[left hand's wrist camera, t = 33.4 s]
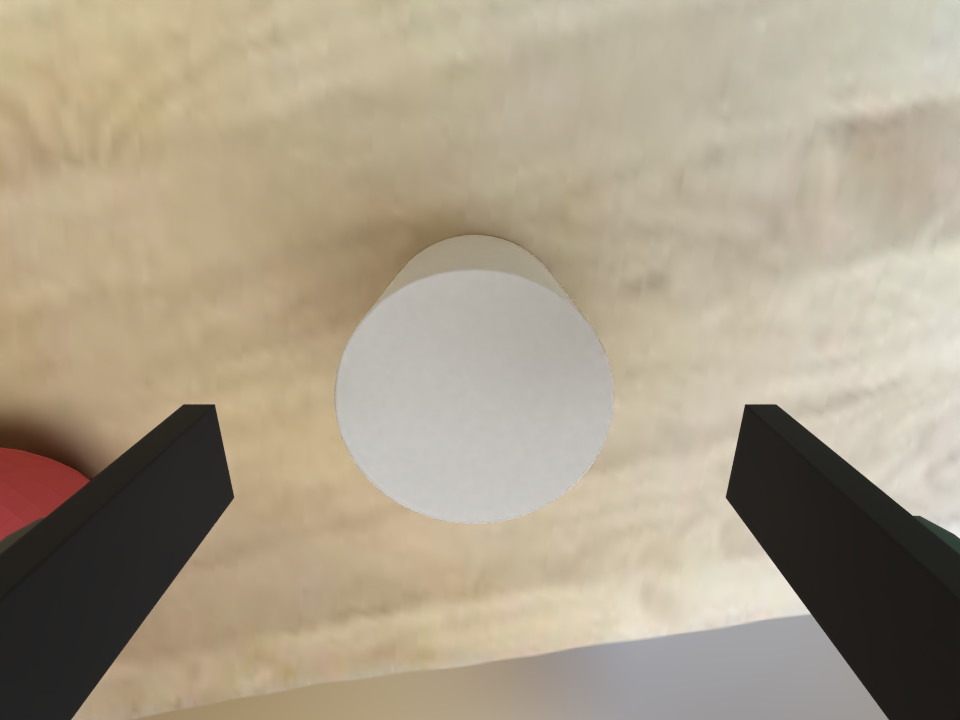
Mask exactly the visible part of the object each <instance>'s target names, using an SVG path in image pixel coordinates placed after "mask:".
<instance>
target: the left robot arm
mask: <svg viewBox="0 0 960 720" xmlns="http://www.w3.org/2000/svg"><path fill="white" fill-rule="evenodd" d="M233 498H234V494H233V490H232V485H231V480H230V475H229V470H228V466H227V461H226V456H225V451H224V447H223V442H222V437H221V432H220V427H219V423H218V418H217V413H216V408H215V405H183V406H181V407H180V408H179V409H178V410H176V411H175V412H174V413H173V414H172V415H170V416H169V417H168V418H167V419H165V420H164V421H163V422H162V423H160V424H159V425H158V426H157V427H156V428H154V429H153V430H152V431H151V432H149V433H148V434H147V435H146V436H145V437H143V438H142V439H141V440H140V441H138V442H137V443H136V444H135V445H134V446H132V447H131V448H130V449H129V450H127V451H126V452H125V453H124V454H122V455H121V456H120V457H119V458H118V459H116V460H115V461H114V462H113V463H111V464H110V465H109V466H108V467H107V468H105V469H104V470H103V471H102V472H100V473H99V474H98V475H97V476H96V477H94V478H93V479H92V480H91V481H89V482H88V483H87V484H86V485H85V486H83V487H82V488H81V489H80V490H78V491H77V492H76V493H75V494H73V495H72V496H71V497H70V498H69V499H67V500H66V501H65V502H64V503H62V504H61V505H60V506H59V507H58V508H56V509H55V510H54V511H53V512H51V513H50V514H49V515H48V516H47V517H45V518H39V519H38V520H36V521H34V522H32V523H30V524H28V525H26V526H25V527H23V528H21V529H19V530H17V531H15V532H13V533H12V534H10V535H8V536H6V537H5V538H4V539H2V540H1V541H0V720H71V719H72V718H73V716H74V715H75V714H76V712H77V711H78V710H79V708H80V707H81V705H82V704H83V703H84V701H85V700H86V699H87V697H88V696H89V695H90V693H91V692H92V690H93V689H94V688H95V686H96V685H97V684H98V682H99V681H100V680H101V678H102V677H103V675H104V674H105V673H106V671H107V670H108V669H109V667H110V666H111V665H112V663H113V662H114V660H115V659H116V658H117V656H118V655H119V654H120V652H121V651H122V650H123V648H124V647H125V646H126V644H127V643H128V641H129V640H130V639H131V637H132V636H133V635H134V633H135V632H136V631H137V629H138V628H139V626H140V625H141V624H142V622H143V621H144V620H145V618H146V617H147V616H148V614H149V613H150V611H151V610H152V609H153V607H154V606H155V605H156V603H157V602H158V601H159V599H160V598H161V596H162V595H163V594H164V592H165V591H166V590H167V588H168V587H169V586H170V584H171V583H172V582H173V580H174V579H175V577H176V576H177V575H178V573H179V572H180V571H181V569H182V568H183V567H184V565H185V564H186V562H187V561H188V560H189V558H190V557H191V556H192V554H193V553H194V552H195V550H196V549H197V547H198V546H199V545H200V543H201V542H202V541H203V539H204V538H205V537H206V535H207V534H208V533H209V531H210V530H211V528H212V527H213V526H214V524H215V523H216V522H217V520H218V519H219V518H220V516H221V515H222V513H223V512H224V511H225V509H226V508H227V507H228V505H229V504H230V503H231V501H232V500H233ZM726 498H727V500H728V501H729V503H730V504H731V505H732V507H733V508H734V509H735V511H736V512H737V513H738V515H739V516H740V518H741V519H742V520H743V522H744V523H745V524H746V526H747V527H748V528H749V530H750V531H751V533H752V534H753V535H754V537H755V538H756V539H757V541H758V542H759V543H760V545H761V546H762V547H763V549H764V550H765V552H766V553H767V554H768V556H769V557H770V558H771V560H772V561H773V562H774V564H775V565H776V567H777V568H778V569H779V571H780V572H781V573H782V575H783V576H784V577H785V579H786V580H787V582H788V583H789V584H790V586H791V587H792V588H793V590H794V591H795V592H796V594H797V595H798V596H799V598H800V599H801V601H802V602H803V603H804V605H805V606H806V607H807V609H808V610H809V611H810V613H811V614H812V616H813V617H814V618H815V620H816V621H817V622H818V624H819V625H820V626H821V628H822V629H823V631H824V632H825V633H826V635H827V636H828V637H829V639H830V640H831V641H832V643H833V644H834V646H835V647H836V648H837V650H838V651H839V652H840V654H841V655H842V656H843V658H844V659H845V660H846V662H847V663H848V665H849V666H850V667H851V669H852V670H853V671H854V673H855V674H856V675H857V677H858V678H859V680H860V681H861V682H862V684H863V685H864V686H865V688H866V689H867V690H868V692H869V693H870V694H871V696H872V697H873V699H874V700H875V701H876V703H877V704H878V705H879V707H880V708H881V709H882V711H883V712H884V714H885V715H886V716H887V718H888V719H889V720H960V539H959V538H958V537H957V536H956V535H954V534H953V533H951V532H949V531H947V530H945V529H943V528H941V527H939V526H938V525H936V524H934V523H932V522H930V521H928V520H926V519H925V518H923V517H921V516H912V515H911V514H910V513H909V512H907V511H906V510H905V509H904V508H902V507H901V506H900V505H899V504H898V503H896V502H895V501H894V500H893V499H891V498H890V497H889V496H888V495H887V494H885V493H884V492H883V491H882V490H880V489H879V488H878V487H877V486H875V485H874V484H873V483H872V482H871V481H869V480H868V479H867V478H866V477H864V476H863V475H862V474H861V473H860V472H858V471H857V470H856V469H855V468H853V467H852V466H851V465H850V464H849V463H847V462H846V461H845V460H844V459H842V458H841V457H840V456H839V455H838V454H836V453H835V452H834V451H833V450H831V449H830V448H829V447H828V446H826V445H825V444H824V443H823V442H822V441H820V440H819V439H818V438H817V437H815V436H814V435H813V434H812V433H811V432H809V431H808V430H807V429H806V428H804V427H803V426H802V425H801V424H800V423H798V422H797V421H796V420H795V419H793V418H792V417H791V416H790V415H788V414H787V413H786V412H785V411H784V410H782V409H781V408H780V407H779V406H777V405H745V408H744V413H743V418H742V423H741V427H740V432H739V437H738V442H737V446H736V451H735V456H734V461H733V466H732V470H731V475H730V480H729V485H728V490H727V494H726Z"/></svg>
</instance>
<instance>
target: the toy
mask: <svg viewBox="0 0 960 720" xmlns="http://www.w3.org/2000/svg"><path fill="white" fill-rule="evenodd" d="M89 481H90V480H89V479H88V478H86V477H85V476H84V475H82V474H81V473H80V472H78V471H77V470H75V469H73V468H71V467H69V466H66V465H64V464H62V463H60V462H58V461H56V460H53V459H50V458H47V457H44V456H40V455H37V454H33V453H30V452H26V451H23V450H17V449H9V448H0V541H1V540H2V539H4V538H5V537H6V536H8V535H10V534H12V533H13V532H15V531H17V530H19V529H21V528H23V527H25V526H26V525H28V524H30V523H32V522H34V521H36V520H38V519H39V518H45V517H47V516H48V515H49V514H50V513H51V512H53V511H54V510H55V509H56V508H58V507H59V506H60V505H61V504H62V503H64V502H65V501H66V500H67V499H69V498H70V497H71V496H72V495H73V494H75V493H76V492H77V491H78V490H80V489H81V488H82V487H83V486H85V485H86V484H87V483H88V482H89Z"/></svg>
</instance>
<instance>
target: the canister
mask: <svg viewBox="0 0 960 720" xmlns="http://www.w3.org/2000/svg"><path fill="white" fill-rule="evenodd" d="M613 404H614V387H613V377H612V372H611V368H610V364H609V360H608V358H607V355H606V353H605V350H604V348H603V345H602V343H601V341H600V339H599V338H598V336H597V334H596V333H595V331H594V329H593V328H592V326H591V325H590V324H589V323H588V321H587V320H586V319H585V317H584V316H583V315H582V313H581V312H580V311H579V310H578V308H577V307H576V306H575V304H574V303H573V302H572V301H571V299H570V298H569V297H568V295H567V294H566V293H565V292H564V290H563V289H562V288H561V286H560V285H559V284H558V283H557V281H556V280H555V279H554V277H553V276H552V275H551V274H550V272H549V271H548V270H547V269H546V267H545V266H544V265H543V264H542V263H541V262H540V261H539V260H538V259H537V258H536V257H535V256H534V255H532V254H531V253H529V252H528V251H527V250H525V249H524V248H522V247H520V246H518V245H516V244H514V243H512V242H510V241H507V240H504V239H501V238H497V237H493V236H486V235H462V236H457V237H451V238H448V239H445V240H442V241H439V242H437V243H435V244H433V245H431V246H429V247H427V248H426V249H424V250H423V251H421V252H419V253H418V254H417V255H416V256H415V257H413V258H412V259H411V260H410V261H409V262H408V263H407V264H406V265H405V266H404V268H403V269H402V270H401V271H400V272H399V274H398V275H397V276H396V277H395V279H394V280H393V281H392V282H391V284H390V285H389V286H388V287H387V289H386V290H385V291H384V292H383V294H382V295H381V296H380V298H379V299H378V300H377V301H376V303H375V304H374V305H373V306H372V308H371V309H370V310H369V311H368V313H367V314H366V315H365V316H364V318H363V319H362V320H361V321H360V323H359V324H358V326H357V327H356V329H355V330H354V332H353V333H352V335H351V337H350V338H349V340H348V342H347V344H346V347H345V349H344V351H343V353H342V356H341V359H340V363H339V366H338V369H337V375H336V382H335V410H336V417H337V422H338V426H339V429H340V432H341V436H342V439H343V441H344V443H345V445H346V447H347V450H348V452H349V454H350V455H351V457H352V458H353V460H354V462H355V463H356V465H357V466H358V468H359V469H360V470H361V471H362V473H363V474H364V475H365V476H366V477H367V479H368V480H369V481H370V482H371V483H373V484H374V485H375V486H376V487H377V488H378V489H379V490H380V491H381V492H383V493H384V494H385V495H387V496H388V497H389V498H391V499H392V500H394V501H395V502H397V503H399V504H401V505H402V506H404V507H406V508H408V509H410V510H412V511H415V512H417V513H419V514H422V515H425V516H428V517H431V518H435V519H438V520H443V521H448V522H454V523H466V524H482V523H493V522H500V521H506V520H510V519H514V518H517V517H521V516H524V515H526V514H529V513H531V512H534V511H536V510H538V509H540V508H542V507H544V506H546V505H548V504H550V503H552V502H553V501H554V500H556V499H557V498H559V497H560V496H562V495H563V494H565V493H566V492H567V491H568V490H569V489H570V488H572V487H573V486H574V485H575V484H576V483H577V482H578V481H579V480H580V479H581V478H582V476H583V475H584V474H585V473H586V472H587V471H588V469H589V468H590V467H591V465H592V464H593V462H594V461H595V459H596V458H597V456H598V454H599V452H600V450H601V448H602V446H603V444H604V442H605V439H606V436H607V434H608V431H609V428H610V424H611V419H612V414H613Z"/></svg>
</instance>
